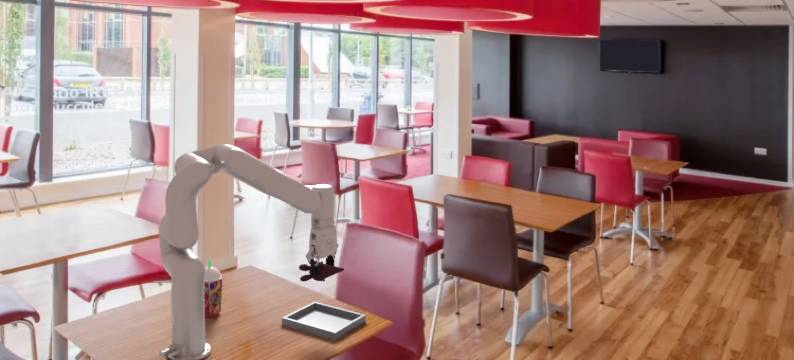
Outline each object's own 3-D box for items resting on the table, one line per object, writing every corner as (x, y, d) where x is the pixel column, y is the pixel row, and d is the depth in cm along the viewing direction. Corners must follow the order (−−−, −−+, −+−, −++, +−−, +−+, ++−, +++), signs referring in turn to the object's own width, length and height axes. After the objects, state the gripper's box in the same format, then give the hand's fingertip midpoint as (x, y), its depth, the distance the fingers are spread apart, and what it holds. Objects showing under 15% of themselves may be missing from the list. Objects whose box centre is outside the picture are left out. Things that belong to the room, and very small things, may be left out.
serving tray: (334, 340, 210) (335, 332, 209) (281, 324, 221) (281, 317, 220) (365, 321, 225) (365, 314, 225) (314, 308, 236) (314, 301, 235)
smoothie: (224, 317, 225) (223, 261, 222) (199, 320, 222) (197, 264, 219) (221, 308, 233) (220, 254, 229) (197, 311, 230) (195, 256, 226)
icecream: (343, 258, 223) (299, 262, 222) (343, 259, 216) (297, 263, 215) (345, 278, 223) (301, 282, 222) (344, 280, 215) (299, 284, 214)
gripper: (315, 229, 206) (315, 282, 210) (347, 218, 221) (346, 268, 224) (296, 225, 210) (297, 278, 213) (329, 215, 225) (329, 264, 228)
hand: (322, 272), depth 219 cm, fingers closed on icecream, 7 cm apart
